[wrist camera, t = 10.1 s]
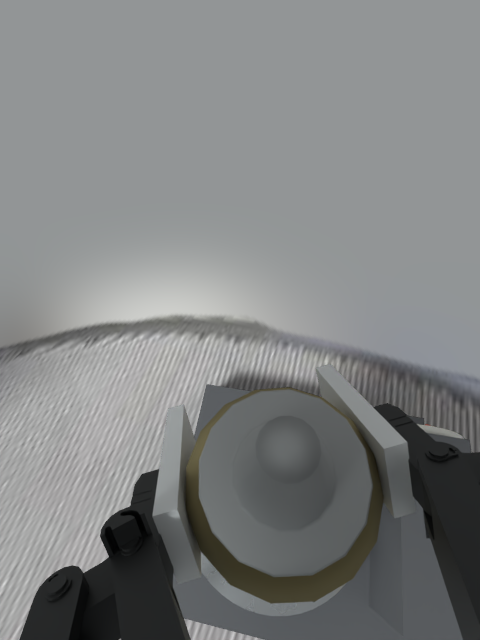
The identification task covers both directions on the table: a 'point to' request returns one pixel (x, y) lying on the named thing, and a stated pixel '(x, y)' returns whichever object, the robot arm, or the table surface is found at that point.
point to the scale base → (359, 593)
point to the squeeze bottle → (283, 495)
